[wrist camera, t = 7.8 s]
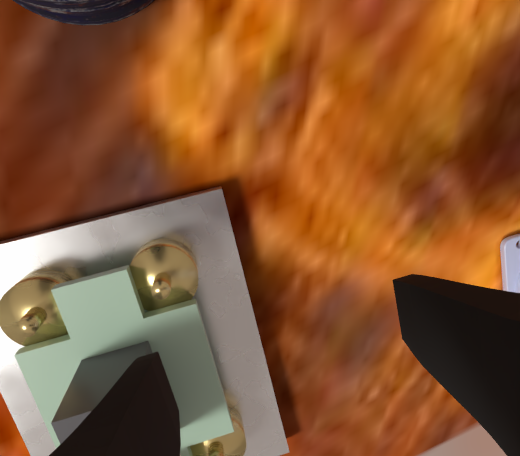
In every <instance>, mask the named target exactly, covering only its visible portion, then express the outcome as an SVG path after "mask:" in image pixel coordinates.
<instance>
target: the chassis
mask: <svg viewBox="0 0 520 456" xmlns="http://www.w3.org/2000/svg"><path fill="white" fill-rule="evenodd" d="M127 265H129V267H130V270H131V273H132V276H133V279H134V282H135V285H136V288H137V291H138V294H139V297H140V300H141V303H142V306H143V309H144V312H145V313H146V312H149V311H153V310H157V309H160V308H164V307H167V306H171V305H174V304H178V303H181V302H185V301H188V300H192V299H196V301H197V304H198V307H199V311H200V314H201V317H202V321H203V324H204V328H205V331H206V334H207V338H208V341H209V345H210V348H211V351H212V355H213V358H214V361H215V365H216V368H217V372H218V375H219V378H220V382H221V385H222V388H223V392H224V395H225V399H226V402H227V405H228V409H229V412H230V415H231V419H232V422H233V428H234V432H232V433H229V434H226V435H223V436H220V437H216V438H213V439H210V440H207V441H204V442H201V443H198V444H195V445H192V446H190V448H191V451H192V454H193V456H279V455H282V454H285V453H288V452H289V449H288V445H287V441H286V437H285V433H284V429H283V425H282V421H281V417H280V414H279V410H278V406H277V402H276V398H275V394H274V390H273V386H272V382H271V378H270V374H269V371H268V367H267V363H266V359H265V355H264V351H263V347H262V343H261V339H260V335H259V331H258V328H257V324H256V320H255V316H254V312H253V308H252V304H251V300H250V296H249V292H248V288H247V285H246V281H245V277H244V273H243V269H242V265H241V261H240V257H239V253H238V249H237V246H236V242H235V238H234V234H233V230H232V226H231V222H230V218H229V214H228V210H227V206H226V203H225V199H224V195H223V191H222V188H221V186H218V187H214V188H210V189H206V190H202V191H198V192H194V193H190V194H186V195H182V196H178V197H174V198H170V199H166V200H162V201H159V202H155V203H151V204H147V205H143V206H139V207H135V208H131V209H127V210H123V211H119V212H115V213H111V214H107V215H103V216H99V217H95V218H91V219H87V220H83V221H79V222H75V223H71V224H67V225H63V226H60V227H56V228H52V229H48V230H44V231H40V232H36V233H32V234H28V235H24V236H20V237H16V238H12V239H8V240H4V241H0V392H1V394H2V396H3V398H4V400H5V402H6V404H7V406H8V409H9V411H10V413H11V415H12V417H13V419H14V421H15V423H16V425H17V427H18V430H19V432H20V434H21V436H22V438H23V440H24V442H25V444H26V446H27V449H28V451H29V453H30V455H31V456H49V455H50V454H51V453H52V452H53V451H54V450H55V449H56V447H55V445H54V442H53V440H52V438H51V436H50V434H49V431H48V429H47V427H46V425H45V422H44V420H43V418H42V416H41V414H40V411H39V409H38V407H37V405H36V402H35V400H34V398H33V396H32V394H31V391H30V389H29V387H28V385H27V382H26V380H25V378H24V376H23V374H22V371H21V369H20V367H19V365H18V362H17V360H16V358H15V356H14V355H15V354H16V352H17V351H18V350H19V349H20V348H22V347H25V346H29V345H32V344H36V343H39V342H43V341H46V340H50V339H54V338H57V337H61V336H64V335H68V331H67V329H66V326H65V324H64V321H63V319H62V316H61V314H60V311H59V309H58V306H57V304H56V301H55V299H54V297H53V294H52V292H51V289H52V288H53V287H54V286H55V285H56V284H60V283H64V282H67V281H71V280H75V279H79V278H82V277H86V276H90V275H93V274H97V273H101V272H105V271H108V270H112V269H116V268H120V267H123V266H127Z"/></svg>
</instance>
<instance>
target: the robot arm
mask: <svg viewBox="0 0 520 456" xmlns="http://www.w3.org/2000/svg"><path fill="white" fill-rule="evenodd" d="M518 241H519V243H518V245H517V246H516V243H517V242H518ZM500 251H501V266H502V281H503V290H496V289H490V288H485V287H479V286H474V285H469V284H464V283H459V282H454V281H449V280H445V279H440V278H435V277H429V276H423V275H415V274H411V275H407V276H404V277H401V278H398V279H394V280H393V285H394V291H395V297H396V303H397V309H398V315H399V321H400V327H401V333H402V339H403V340H404V342H405V343H406V344H407V346H408V347H409V349H410V350H411V351H412V353H413V354H414V355H415V357H416V358H417V359H418V361H419V362H420V363H421V364H422V365H423V367H424V368H425V369H426V370H427V371H428V372H429V373H430V374H431V375H432V376H433V377H434V378H435V379H436V380H437V381H438V382H439V383H440V384H441V385H442V386H443V387H444V388H445V389H446V390H447V391H448V392H449V393H450V394H451V395H452V396H453V397H454V398H455V399H456V400H457V401H458V402H459V403H460V404H461V405H462V406H463V407H464V408H465V409H466V410H467V411H468V412H469V413H470V414H471V415H472V416H473V417H474V418H475V419H476V420H477V421H478V422H479V423H480V424H481V425H482V427H483V428H484V429H485V430H486V431H487V432H488V433H489V434H490V435H491V436H492V438H493V439H494V440H495V441H496V443H497V444H498V445H499V446H500V447H501V449H502V450H503V451H504V452H505V454H506V455H507V456H520V234H516V235H513V236H509V237H506V238H504V239H503V241H502V242H501V245H500ZM180 447H181V437H180V417H179V409H178V406H177V403H176V400H175V397H174V395H173V392H172V389H171V386H170V383H169V380H168V378H167V375H166V372H165V369H164V366H163V364H162V361H161V358H160V355H159V352H158V351H157V352H154V353H151V354H148V355H144V356H141V357H138V358H136V359H135V360H134V361H133V362H132V364H131V365H130V366H129V367H128V368H127V369H126V371H125V372H124V373H123V374H122V376H121V377H120V378H119V379H118V381H117V382H116V383H115V384H114V385H113V387H112V388H111V389H110V390H109V392H108V393H107V394H106V395H105V396H104V398H103V399H102V400H101V401H100V402H99V404H98V405H97V406H96V407H95V408H94V409H93V410H92V411H91V412H90V414H89V415H88V416H87V417H86V418H85V419H84V420H83V421H82V422H81V424H80V425H79V426H78V427H77V428H76V429H75V430H74V431H73V432H72V433H71V434H70V435H69V436H68V437H67V438H66V439H65V440H64V441H63V442H62V443H61V444H60V445H59V446H58V447H57V448H56V449H55V450H54V451H53V452H52V453H51V454H50V455H49V456H180Z"/></svg>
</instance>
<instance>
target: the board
mask: <svg viewBox="0 0 520 456" xmlns="http://www.w3.org/2000/svg"><path fill="white" fill-rule="evenodd" d="M51 292H52V294H53V297H54V299H55V301H56V304H57V306H58V309H59V311H60V314H61V316H62V319H63V321H64V324H65V326H66V329H67V331H68V335H64V336H61V337H57V338H54V339H50V340H46V341H43V342H39V343H36V344H32V345H29V346H25V347H22V348H20V349H19V350H18V351H17V352H16V354H15V355H14V356H15V358H16V360H17V362H18V365H19V367H20V369H21V371H22V374H23V376H24V378H25V380H26V382H27V385H28V387H29V389H30V391H31V394H32V396H33V398H34V400H35V402H36V405H37V407H38V409H39V411H40V414H41V416H42V418H43V420H44V422H45V425H46V427H47V429H48V431H49V434H50V436H51V438H52V440H53V442H54V445H55V447H56V448H57V447H58V446H59V445H60V444H61V443H62V442H63V441H64V440H65V439H66V438H67V437H68V436H69V435H70V434H71V433H72V432H73V431H74V430H75V429H76V428H77V427H78V426H79V425H80V424H81V422H82V421H83V420H84V419H85V418H86V417H87V416H88V415H89V414H90V412H91V411H92V410H93V409H94V408H95V407H96V406H97V405H98V404H99V402H100V401H101V400H102V399H103V398H104V396H105V395H106V394H107V393H108V392H109V390H110V389H111V388H112V387H113V385H114V384H115V383H116V382H117V381H118V379H119V378H120V377H121V376H122V374H123V373H124V372H125V371H126V369H127V368H128V367H129V366H130V365H131V364H132V362H133V361H134V360H135V359H136V358H138V357H141V356H144V355H148V354H151V353H154V352H157V351H158V352H159V355H160V358H161V361H162V364H163V366H164V369H165V372H166V375H167V378H168V380H169V383H170V386H171V389H172V392H173V395H174V397H175V400H176V403H177V406H178V409H179V417H180V437H181V447H180V456H193V454H192V451H191V448H190V446H192V445H195V444H198V443H201V442H204V441H207V440H210V439H213V438H216V437H220V436H223V435H226V434H229V433H232V432H234V428H233V422H232V419H231V415H230V412H229V409H228V405H227V402H226V399H225V395H224V392H223V388H222V385H221V382H220V378H219V375H218V372H217V368H216V365H215V361H214V358H213V355H212V351H211V348H210V345H209V341H208V338H207V334H206V331H205V328H204V324H203V321H202V317H201V314H200V311H199V307H198V304H197V301H196V299H192V300H188V301H185V302H181V303H178V304H174V305H171V306H167V307H164V308H160V309H157V310H153V311H149V312H146V313H145V312H144V309H143V306H142V303H141V300H140V297H139V294H138V291H137V288H136V285H135V282H134V279H133V276H132V273H131V270H130V267H129V265H127V266H123V267H120V268H116V269H112V270H108V271H105V272H101V273H97V274H93V275H90V276H86V277H82V278H79V279H75V280H71V281H67V282H64V283H60V284H56V285H55V286H54V287H53V288H52V289H51Z"/></svg>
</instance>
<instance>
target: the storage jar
mask: <svg viewBox="0 0 520 456" xmlns="http://www.w3.org/2000/svg"><path fill="white" fill-rule="evenodd" d="M13 1H15V2H16V3H18V4H19V5H21V6H23V7H24V8H26V9H28V10H30V11H32V12H34V13H36V14H39V15H41V16H43V17H45V18H49V19H52V20H56V21H59V22H63V23H69V24H77V25H101V24H106V23H111V22H115V21H119V20H121V19H124V18H126V17H129V16H132V15H134V14H135V13H137V12H139V11H140V10H142V9H143V8H145V7H147V6H148V5H149V4H150V3H151V2H152V1H154V0H13Z"/></svg>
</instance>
